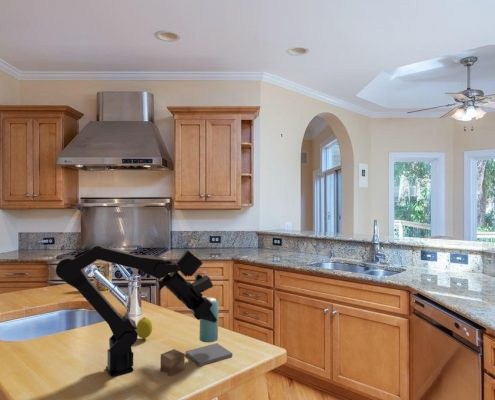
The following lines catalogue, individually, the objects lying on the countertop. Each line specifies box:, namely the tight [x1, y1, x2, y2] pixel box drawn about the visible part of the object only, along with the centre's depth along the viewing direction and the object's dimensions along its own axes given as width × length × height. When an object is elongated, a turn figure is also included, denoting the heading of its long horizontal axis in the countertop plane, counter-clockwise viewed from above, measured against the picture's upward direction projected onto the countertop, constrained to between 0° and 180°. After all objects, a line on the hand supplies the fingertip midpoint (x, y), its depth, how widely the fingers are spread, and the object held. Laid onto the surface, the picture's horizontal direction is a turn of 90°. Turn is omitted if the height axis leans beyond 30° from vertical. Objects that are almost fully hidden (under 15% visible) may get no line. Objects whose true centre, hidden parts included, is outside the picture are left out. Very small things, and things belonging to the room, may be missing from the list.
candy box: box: [93, 261, 113, 291], centre depth 202 cm, size 9×4×15 cm, turn 93°
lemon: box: [136, 316, 153, 340], centre depth 130 cm, size 6×6×8 cm
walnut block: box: [160, 348, 186, 377], centre depth 107 cm, size 5×5×5 cm
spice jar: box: [199, 297, 219, 343], centre depth 117 cm, size 6×6×13 cm
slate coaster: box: [184, 342, 233, 366], centre depth 117 cm, size 12×10×1 cm
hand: (212, 318), depth 118 cm, fingers closed on spice jar, 6 cm apart
